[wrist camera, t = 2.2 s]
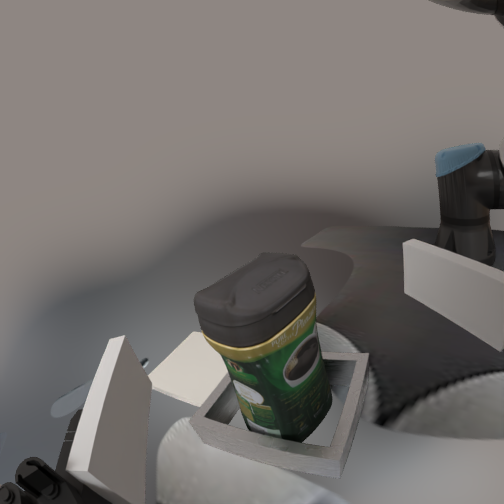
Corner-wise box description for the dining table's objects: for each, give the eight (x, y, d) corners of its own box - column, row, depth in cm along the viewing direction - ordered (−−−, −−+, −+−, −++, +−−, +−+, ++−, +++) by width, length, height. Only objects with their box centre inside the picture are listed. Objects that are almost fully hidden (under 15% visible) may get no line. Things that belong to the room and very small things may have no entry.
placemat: (195, 335, 48) (193, 331, 47) (263, 344, 41) (262, 340, 40) (145, 385, 36) (142, 381, 36) (216, 412, 29) (213, 407, 29)
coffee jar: (289, 379, 32) (253, 243, 27) (342, 398, 27) (324, 245, 21) (236, 429, 26) (169, 289, 21) (291, 461, 21) (237, 311, 15)
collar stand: (256, 369, 36) (247, 345, 34) (368, 379, 28) (369, 353, 27) (204, 442, 25) (188, 421, 24) (340, 478, 17) (339, 460, 16)
